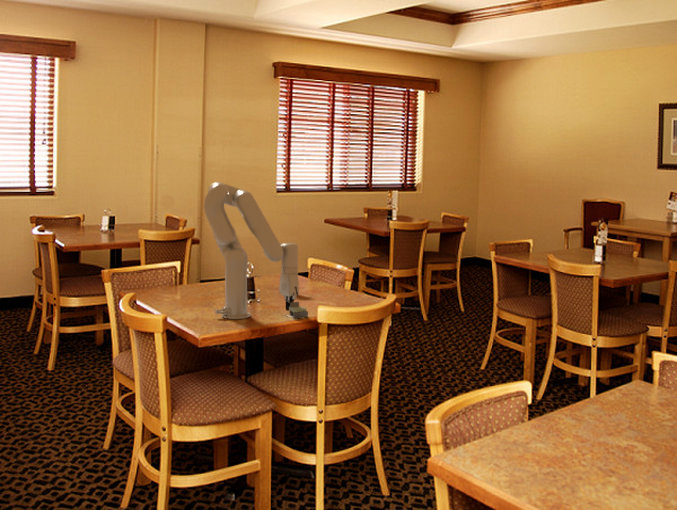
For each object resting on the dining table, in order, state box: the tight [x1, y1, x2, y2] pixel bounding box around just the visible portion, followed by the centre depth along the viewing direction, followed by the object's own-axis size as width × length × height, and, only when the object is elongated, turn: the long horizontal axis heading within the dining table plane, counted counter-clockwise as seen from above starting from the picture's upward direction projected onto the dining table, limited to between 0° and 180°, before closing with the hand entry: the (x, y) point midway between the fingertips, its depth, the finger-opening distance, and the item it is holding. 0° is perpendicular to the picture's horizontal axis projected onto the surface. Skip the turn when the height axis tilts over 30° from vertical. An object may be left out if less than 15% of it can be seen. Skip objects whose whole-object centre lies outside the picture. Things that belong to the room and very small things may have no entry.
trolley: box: [288, 301, 307, 315], centre depth 310 cm, size 7×6×6 cm
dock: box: [285, 310, 309, 320], centre depth 310 cm, size 7×10×3 cm
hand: (289, 310), depth 314 cm, fingers closed
